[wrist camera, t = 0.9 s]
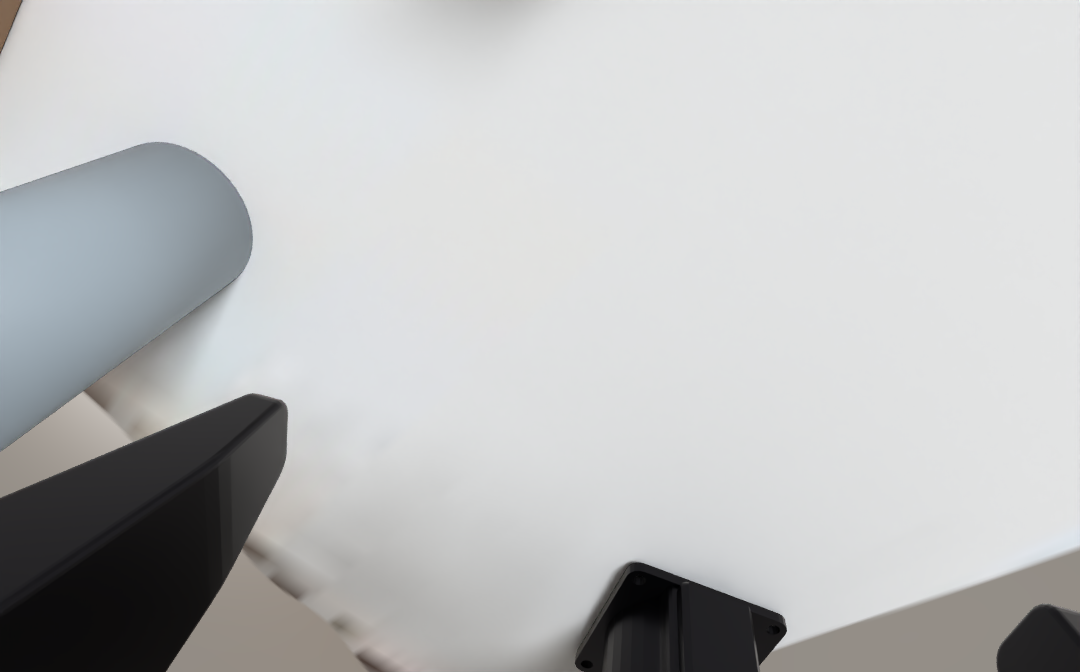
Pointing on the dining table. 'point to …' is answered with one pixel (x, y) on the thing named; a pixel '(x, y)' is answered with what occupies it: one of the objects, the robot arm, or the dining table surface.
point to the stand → (7, 17)
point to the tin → (106, 268)
